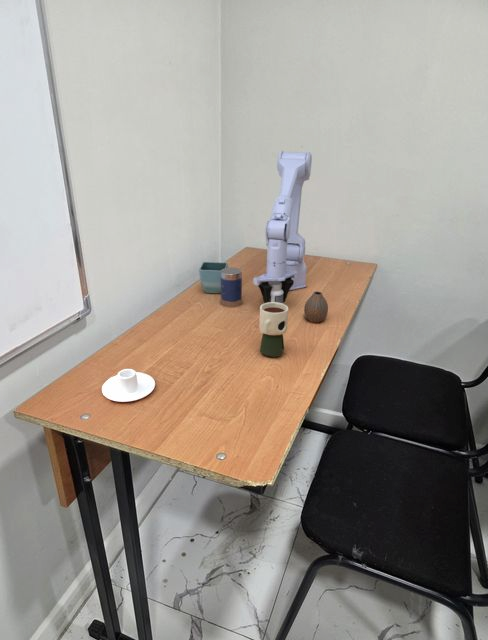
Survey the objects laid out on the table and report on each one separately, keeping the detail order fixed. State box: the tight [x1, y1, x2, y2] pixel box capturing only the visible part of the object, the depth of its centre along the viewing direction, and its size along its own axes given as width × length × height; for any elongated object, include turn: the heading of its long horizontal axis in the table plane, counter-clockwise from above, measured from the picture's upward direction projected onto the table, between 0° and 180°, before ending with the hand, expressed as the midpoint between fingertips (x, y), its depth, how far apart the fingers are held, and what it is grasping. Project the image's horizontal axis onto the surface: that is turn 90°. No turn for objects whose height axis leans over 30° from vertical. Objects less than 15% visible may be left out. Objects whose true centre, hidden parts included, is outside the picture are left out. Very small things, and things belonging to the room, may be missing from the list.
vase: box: [303, 290, 329, 324], centre depth 132 cm, size 7×7×9 cm
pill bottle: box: [269, 281, 284, 304], centre depth 138 cm, size 5×5×9 cm
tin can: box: [220, 266, 243, 308], centre depth 143 cm, size 7×7×11 cm
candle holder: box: [101, 368, 156, 403], centre depth 101 cm, size 12×12×4 cm
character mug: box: [258, 302, 289, 358], centre depth 114 cm, size 11×7×13 cm, turn 154°
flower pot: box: [198, 261, 229, 294], centre depth 152 cm, size 9×9×9 cm
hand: (274, 302), depth 139 cm, fingers closed on pill bottle, 5 cm apart
